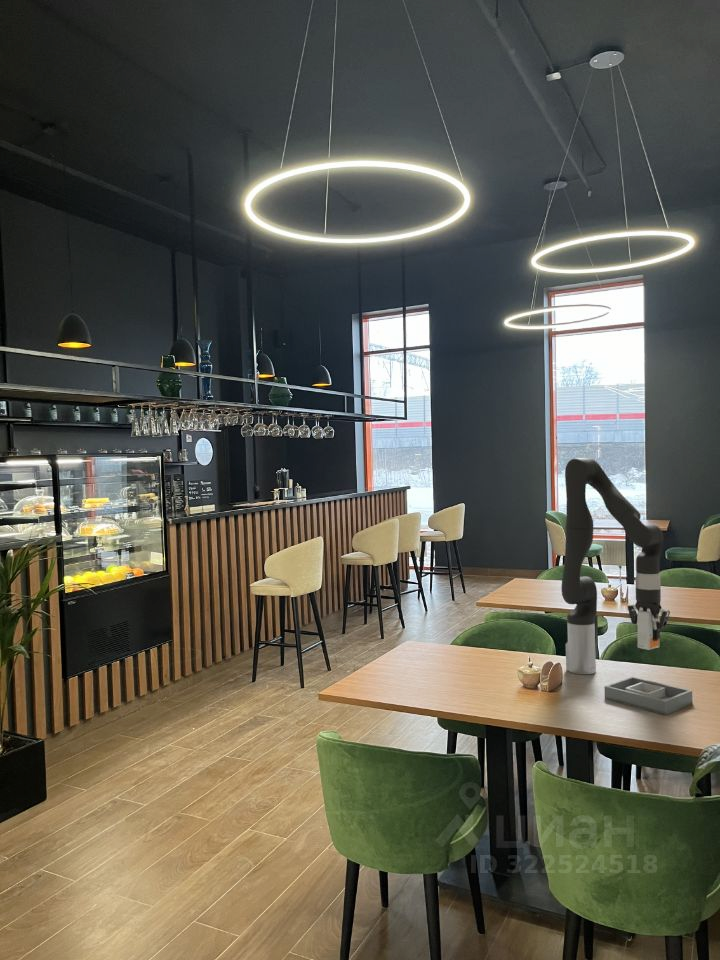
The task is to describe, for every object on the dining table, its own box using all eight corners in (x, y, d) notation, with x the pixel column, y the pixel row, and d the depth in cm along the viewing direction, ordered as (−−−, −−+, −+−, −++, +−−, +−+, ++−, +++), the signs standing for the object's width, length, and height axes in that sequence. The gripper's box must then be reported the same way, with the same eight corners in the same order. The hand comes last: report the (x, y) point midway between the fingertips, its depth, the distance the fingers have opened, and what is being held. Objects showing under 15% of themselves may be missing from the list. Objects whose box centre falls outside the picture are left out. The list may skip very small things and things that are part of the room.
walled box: (604, 699, 222) (604, 686, 222) (632, 689, 231) (632, 676, 231) (665, 715, 206) (665, 701, 206) (692, 703, 215) (692, 690, 215)
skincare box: (648, 650, 229) (648, 613, 229) (637, 647, 232) (636, 611, 232) (660, 647, 232) (659, 610, 232) (648, 644, 236) (648, 608, 235)
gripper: (621, 585, 235) (622, 637, 236) (662, 590, 224) (663, 645, 224) (634, 582, 240) (635, 633, 240) (675, 587, 228) (675, 641, 229)
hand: (648, 638), depth 232 cm, fingers closed on skincare box, 4 cm apart
